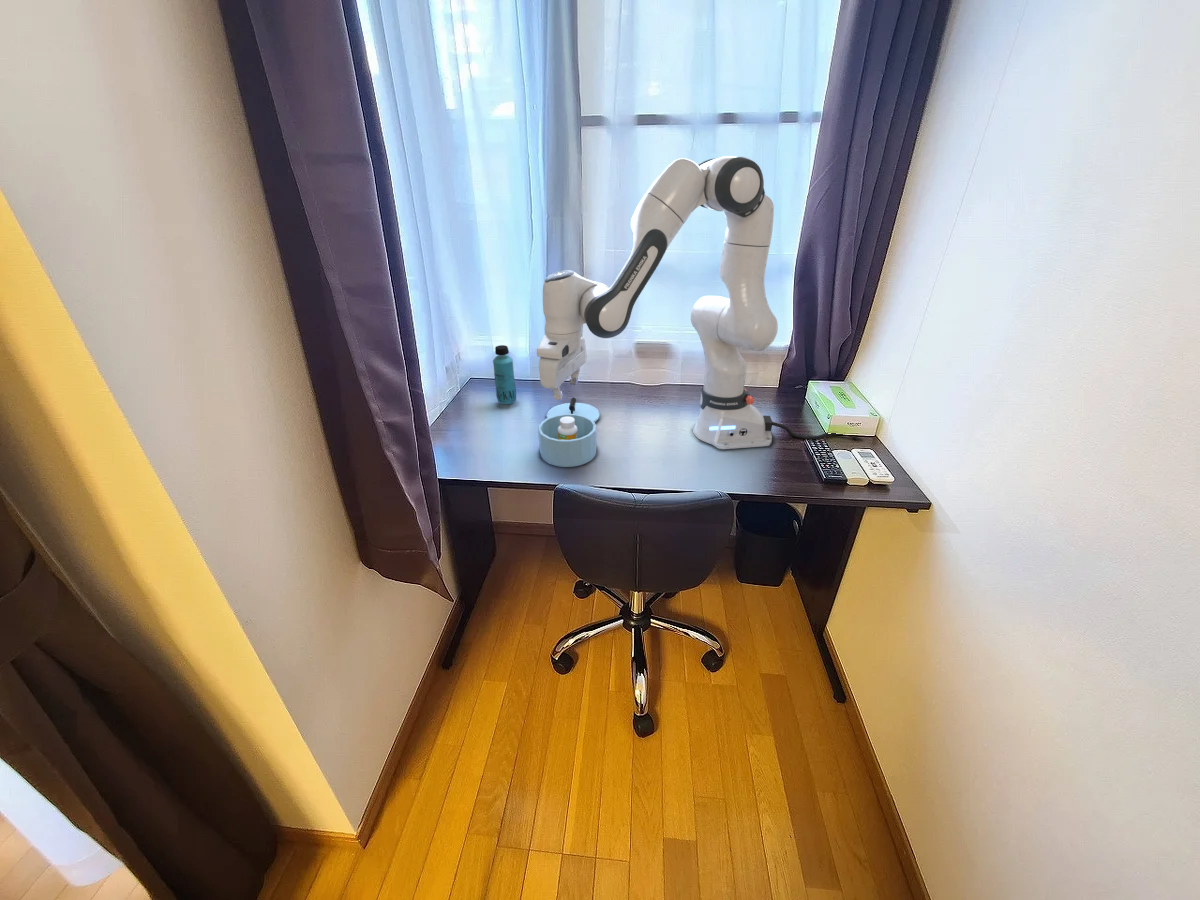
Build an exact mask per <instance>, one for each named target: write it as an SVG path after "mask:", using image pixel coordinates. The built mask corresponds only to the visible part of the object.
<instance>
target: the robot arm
mask: <svg viewBox="0 0 1200 900" xmlns="http://www.w3.org/2000/svg"><path fill="white" fill-rule="evenodd" d="M764 182H765V181H764V175H763V172H762V169H761V167H760V166H759V164H758V163H757V162H756V161H754V160H753V159H751V158H750V157H749V158H748V157H746V156H734V155H725V156H721V157H718V158H710V159H707V160H704V161H703V162H701V163H699V164H698V163H696V162H695V161H693V160H691V159H688V158H684V157H682V158H677V159H675V160H673V161H672V162H670V164H669V165H668V166H667V167H666V168H665V169H664V170H663V171H662V172H661V173H660V174H659V176H658V177H657V178H656V179H655V180H654V181H653V183H652V184H651V185H650V187H649V188H648V189H647V191H646V192H645V193H644V195H643V196H642V198H641V199H640V201H639V202H638V204H637V206H636V208H635V210H634V213H633V215H632V217H631V219H630V231H631V235H632V242H633V243H632V249H631V252H630V255H629V257H628V259H627V261H626V262H625V263H624V264H623V266H622V268H621V270H620V272H619V273H618V275H617V276H616V278H615V279H614V282H613V283H612V284H611V286H608V285H606V284H605V283H603V282H600V281H594V280H591V279H588V278H585V277H584V276H581V275H580V274H578V273H577V272H575V271H574V270H570V269H565V270H563V269H562V270H557V271H554V272H553V273H552V272H551V274H549V275H547V276H546V277H545V279H544V281H543V285H542V312H543V315H544V318H545V324H544V335H543V337H542V340H541V342H540V343H539V345H537V348H536V356H537V357H538V358H539V360H538V373H539V374H538V375H539V381H540V385H541V387H542V388H543V389H547V390H551V391H552V393H553V399H554V400H557V401H561V400H562V398H563V397H564V395H563V393H564V392H563V391H561V387H562V386H561V385H562V384H563V383H564V382H565V381H566V380H567V379H569V384H570V385H571V386H576V385H577V384H578V383H579V375H580V371H581V370H580V369H581V367H582V366H583V365H584V364H586V363H587V357H588V356H587V345H586V341H585V338H584V337H583V334H582V325H584V324H586V326H587V328H588V330H589V332H591V333H592V334H593V335H594V336H595V337H597V338H600V339H611V338H615V337H617V336H619V335H620V334H621V333H623V332H624V330H625V329H626V328H627V326H628V324H629V322H630V319H631V315H632V312H633V309H634V306H635V304H636V302H637V300H638V298H639V297H640V295H641V294H642V293H643V291H644V289H645V287H646V285H647V284H648V283H649V281H650V279H651V278H652V276H653V275H654V273H655V271H656V270H657V268H658V267H659V265H660V263H661V261H662V260H663V257H664V256H665V254H666V251H667V250H668V248H669V246H670V244H671V243H672V242H673V240H674V238H675V237H676V236H677V235H678V233H679V232H680V230H681V229H682V228H683V226H684V224H685V223H686V222H687V220H688V219H689V218H690V216H691V214H692V213H693V212H694V211H695V210H696V209H697V208H699V207H702V208H705V209H709V210H711V211H716V212H723V214H724V216H725V222H726V229H725V234H724V239H723V245H722V251H721V256H720V263H719V269H718V275H719V278H720V279H721V281H722V283H723V284H724V285H725V287H726V290H727V293H728V297H726V296H722V295H703V296H701V297H700V298H699V299H697V300H696V301H695V303H694V304H693V306H692V308H691V311H690V322H691V325H692V327H693V328H694V329H695V331H696V333H697V335H698V337H699V339H700V342H701V346H702V350H703V354H704V362H705V364H704V367H705V368H704V379H703V380H704V381H703V386H702V387H701V392H700V399H699V406H700V408H699V412H698V416H697V419H696V421H695V422H696V423H695V425H694V427H693V429H692V430H693V431H692V432H693V435H694V436H695V438H697V439H698V440H700V441H702V442H704V443H707V444H710V445H711V446H713V447H715V448H717V449H718V450H733V449H745V448H746V449H748V448H760V447H761V448H763V447H770V445H771V444H772V441H773V435H772V430H773V429H772V428H773V426H774V427H778V428H781V429H783V430H785V431H786V432H787V434H788V435H790V437H791V436H792V437H794V438H796V439H801V440H820V439H824V438H826V437H829V436H844V435H843V434H836V433H831V434H828V432H825V433H822V434H819V435H803V434H798V433H795V432H793V431H792V430H791V428H789V427H788V426H786V425H785V424H783V423H779V422H775V421H773V420H772V417H771V415H763V413H762V412H761V410H759V408H757V407H756V406H754V405H753V404H754V403H755V399H754V397H753V396H751V393H750V392H749V391H748V390H747V389H746V387H745V383H746V377H747V371H748V370H747V369H748V367H747V363H746V360H745V359H744V357H743V356H742V355H741V352H740V350H739V349H741V350H747V351H754V352H762V351H763V350H766V349H767V348H768V347H770V345H771V344H773V342H774V341H775V339H776V337H777V334H778V332H779V331H778V329H779V324H778V320H777V317H776V315H775V314H774V313H773V312H772V310H771V307H770V306H769V303H768V300H767V296H766V295H767V294H766V288H765V278H766V277H765V275H766V269H767V263H768V257H769V253H770V247H771V242H772V237H773V228H774V215H775V211H774V209H775V206H774V202H773V200H772V198H771V197H770V196H768V195H766V192H765V188H764V185H765V183H764ZM845 436H846V437H850V438H852V439H853V440H854V441H859V438H858V436H856V437H852V436H848V435H845Z"/></svg>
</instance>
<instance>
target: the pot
mask: <svg viewBox="0 0 1200 900" xmlns="http://www.w3.org/2000/svg"><path fill="white" fill-rule="evenodd" d="M566 416H568V417H573V418H574V420H575V425H576V426H577V431H578V439H572V440H558V427H559V426H560V419H561V418H562V417H566ZM537 433H538V446H539V453H540V457H541V458H542V460H543V461H544V462H545V463H548V464H549V465H552V466H556V467H561V468H572V467H578V466H582V465H584V464H585V465H586V464H587V463H589V462H591V461H592V460H593V459H594V458H595V457H596V455H597V449H598V448H597V447H598V446H597V444H598V443H597V424H596V422H594V421H593V420H592V419H590V418H588V417H586V416H583V415H578V414H560V415H554V416H552V417H549V418H547V417H546V418H544V419H543V421H540V423H539V425H538V428H537Z"/></svg>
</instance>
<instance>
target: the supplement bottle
mask: <svg viewBox="0 0 1200 900" xmlns="http://www.w3.org/2000/svg"><path fill="white" fill-rule="evenodd" d="M572 439H578V431H577V426H576V425H575V420H574V418H573V417H568V416H566V417H562V418H561V419H560V426H559V427H558V440H572Z"/></svg>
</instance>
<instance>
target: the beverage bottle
mask: <svg viewBox="0 0 1200 900" xmlns="http://www.w3.org/2000/svg"><path fill="white" fill-rule="evenodd" d="M494 352H495V353H494V354H495V355H496V356H495V357H494V358H493V360H492V363H493V364H492V365H493V376H494V384H495V395H496V400H497V402H498V403H499V404H501V405H510V404H513V403H515V402H516V401H517V391H516V390H517V389H516V382H515V381H516V379H515V371H514V360H513V358H512V357H511V356H509V353H510V352H509V347H508V345H505V344H500V345H497V346H495V348H494Z"/></svg>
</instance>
